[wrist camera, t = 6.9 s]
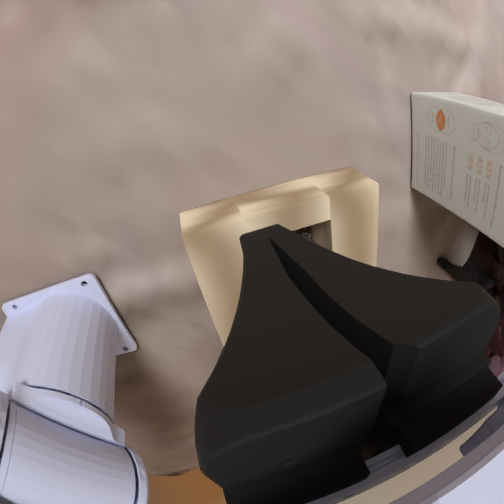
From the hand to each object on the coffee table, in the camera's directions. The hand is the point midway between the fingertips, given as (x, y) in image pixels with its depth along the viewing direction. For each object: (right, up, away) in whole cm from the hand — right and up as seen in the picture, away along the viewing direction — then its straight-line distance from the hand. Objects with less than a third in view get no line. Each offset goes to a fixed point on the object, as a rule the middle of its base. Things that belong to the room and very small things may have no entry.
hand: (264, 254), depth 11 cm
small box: (+15, +10, +11) cm, 21 cm away
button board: (+3, -5, +16) cm, 17 cm away
